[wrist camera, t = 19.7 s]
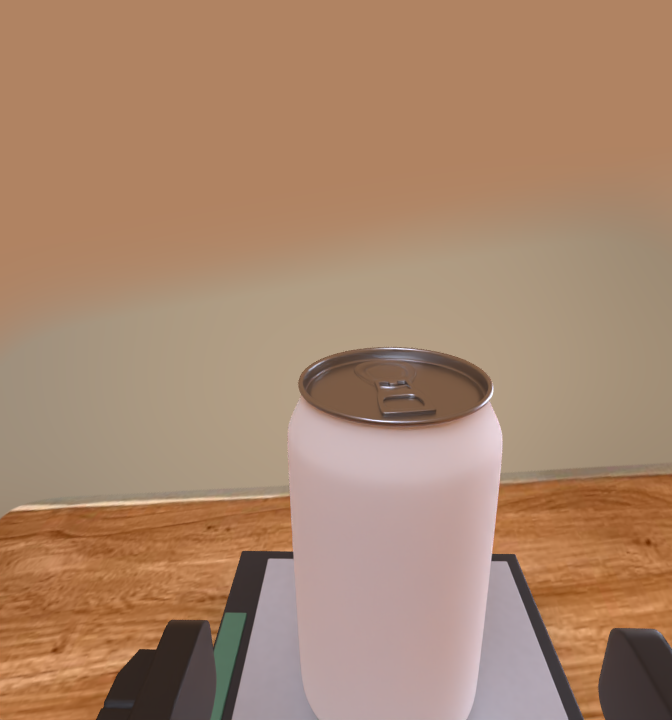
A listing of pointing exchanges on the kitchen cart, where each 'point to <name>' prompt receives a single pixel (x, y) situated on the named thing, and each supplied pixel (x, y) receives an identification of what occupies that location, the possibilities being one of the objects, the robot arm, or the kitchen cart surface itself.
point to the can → (392, 531)
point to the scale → (282, 655)
